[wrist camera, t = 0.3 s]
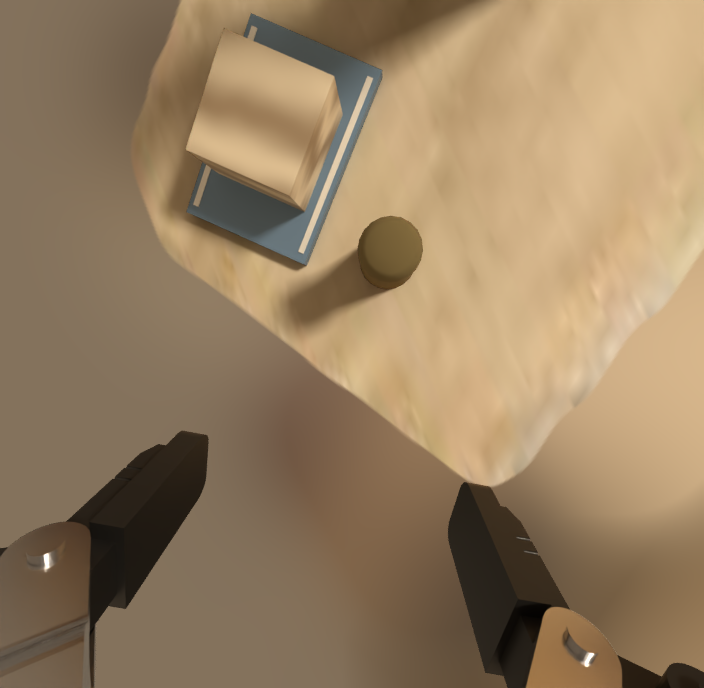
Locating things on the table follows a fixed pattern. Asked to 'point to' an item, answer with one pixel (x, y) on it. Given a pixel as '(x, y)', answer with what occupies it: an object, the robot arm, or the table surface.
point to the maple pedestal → (265, 120)
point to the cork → (389, 251)
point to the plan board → (304, 227)
